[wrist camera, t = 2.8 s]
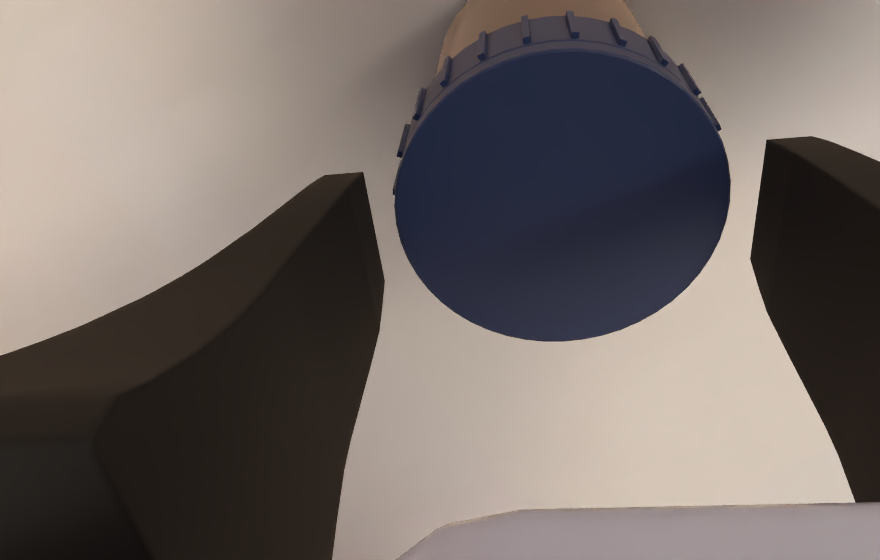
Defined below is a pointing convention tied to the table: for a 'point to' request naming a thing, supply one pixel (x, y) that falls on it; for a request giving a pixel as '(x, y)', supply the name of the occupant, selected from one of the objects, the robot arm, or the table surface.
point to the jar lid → (560, 180)
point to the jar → (505, 3)
